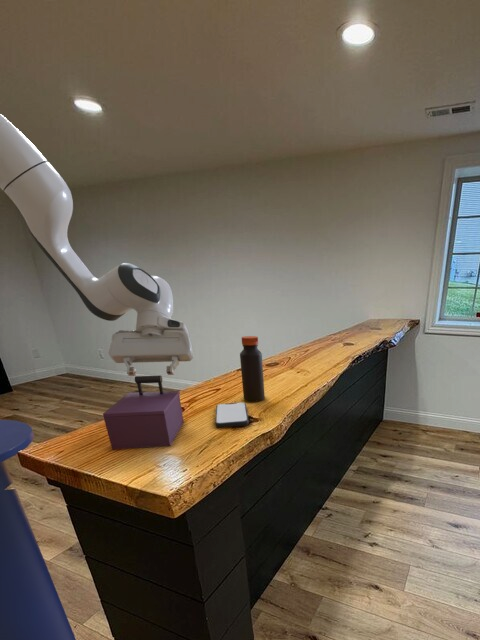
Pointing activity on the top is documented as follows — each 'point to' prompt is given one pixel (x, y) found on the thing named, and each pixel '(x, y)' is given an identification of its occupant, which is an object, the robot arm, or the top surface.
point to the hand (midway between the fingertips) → (150, 374)
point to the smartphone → (231, 415)
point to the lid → (143, 400)
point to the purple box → (145, 428)
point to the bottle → (252, 370)
